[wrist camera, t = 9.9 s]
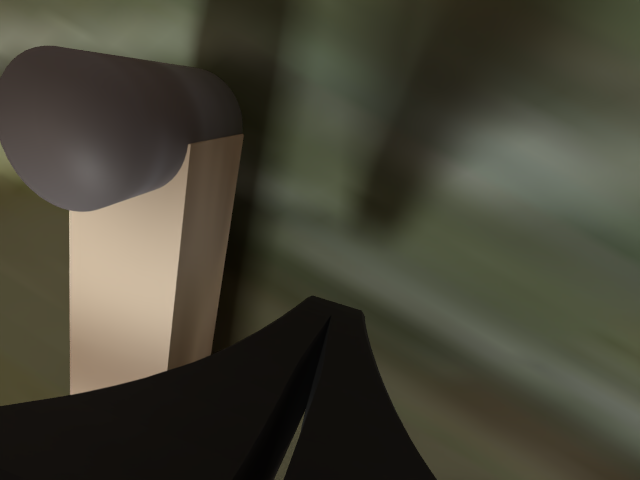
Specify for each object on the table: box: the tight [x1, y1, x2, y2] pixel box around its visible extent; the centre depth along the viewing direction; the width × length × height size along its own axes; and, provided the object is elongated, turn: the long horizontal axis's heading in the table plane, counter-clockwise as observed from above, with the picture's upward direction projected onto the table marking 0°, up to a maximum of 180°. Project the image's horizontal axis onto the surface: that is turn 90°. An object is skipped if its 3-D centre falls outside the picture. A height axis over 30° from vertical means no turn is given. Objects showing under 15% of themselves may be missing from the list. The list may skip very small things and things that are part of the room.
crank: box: [0, 46, 244, 395], centre depth 11 cm, size 17×4×5 cm, turn 168°
